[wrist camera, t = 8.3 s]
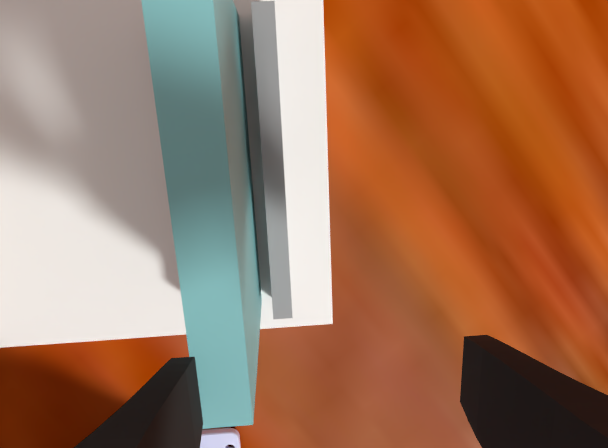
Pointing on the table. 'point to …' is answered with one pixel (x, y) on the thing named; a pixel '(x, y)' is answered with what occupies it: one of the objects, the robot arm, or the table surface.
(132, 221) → the rack
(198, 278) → the teal rectangular block
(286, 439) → the table surface
